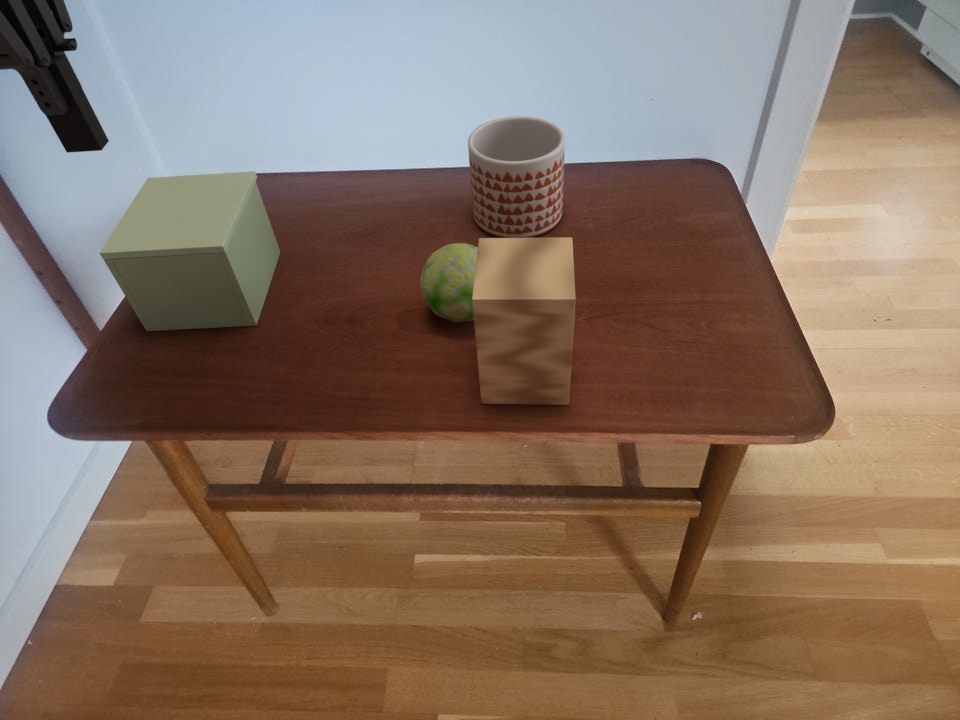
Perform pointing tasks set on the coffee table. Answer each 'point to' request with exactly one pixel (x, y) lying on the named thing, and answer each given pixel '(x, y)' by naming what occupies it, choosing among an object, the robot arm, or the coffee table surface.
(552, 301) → the stand
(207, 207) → the lid
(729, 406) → the coffee table surface
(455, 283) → the decorative ball
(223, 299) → the box
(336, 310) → the coffee table surface
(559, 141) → the planter
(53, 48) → the robot arm
